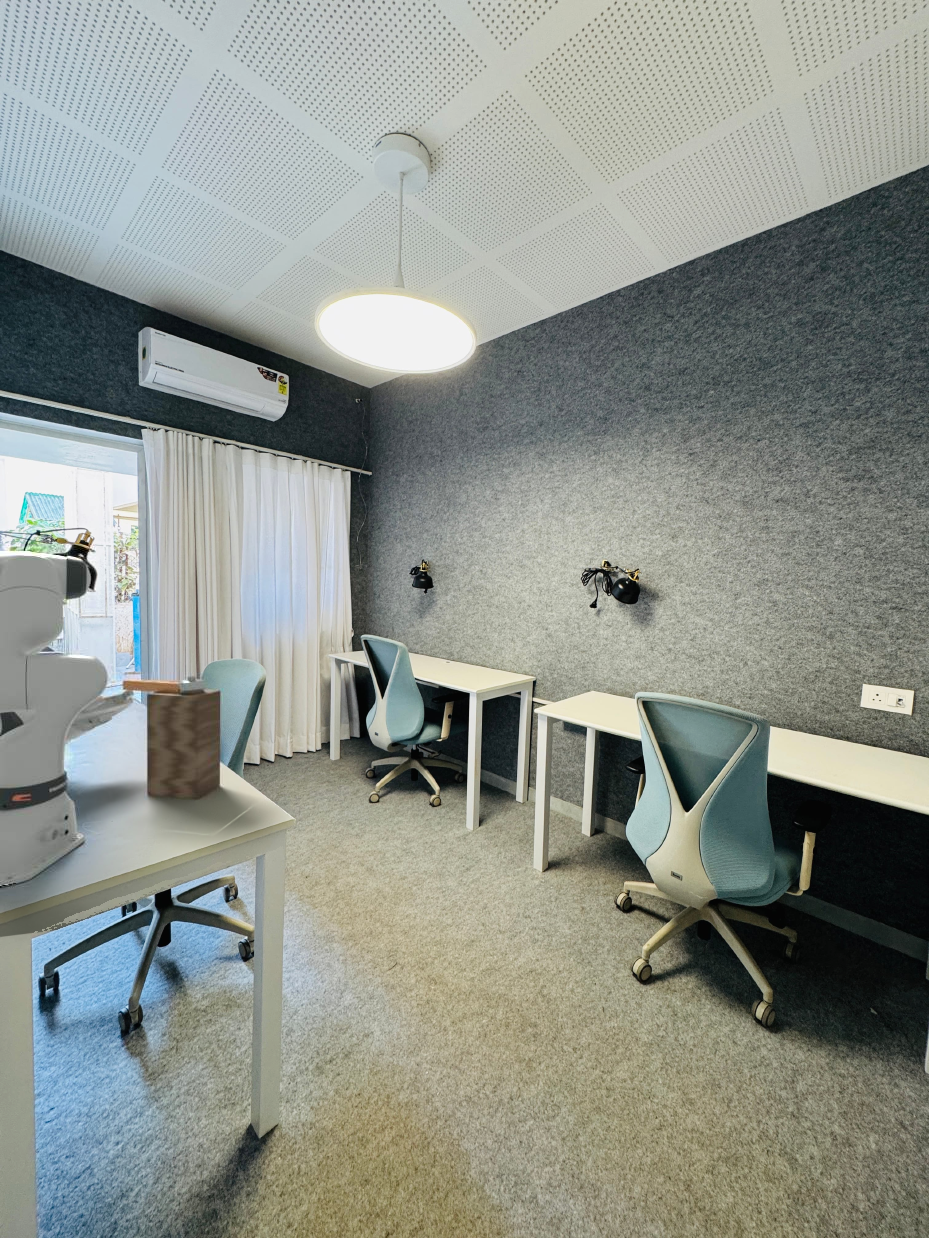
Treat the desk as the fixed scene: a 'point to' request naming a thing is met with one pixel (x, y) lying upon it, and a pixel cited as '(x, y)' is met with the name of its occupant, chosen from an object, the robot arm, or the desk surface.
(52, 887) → the desk surface
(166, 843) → the desk surface
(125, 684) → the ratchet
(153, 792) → the pedestal
